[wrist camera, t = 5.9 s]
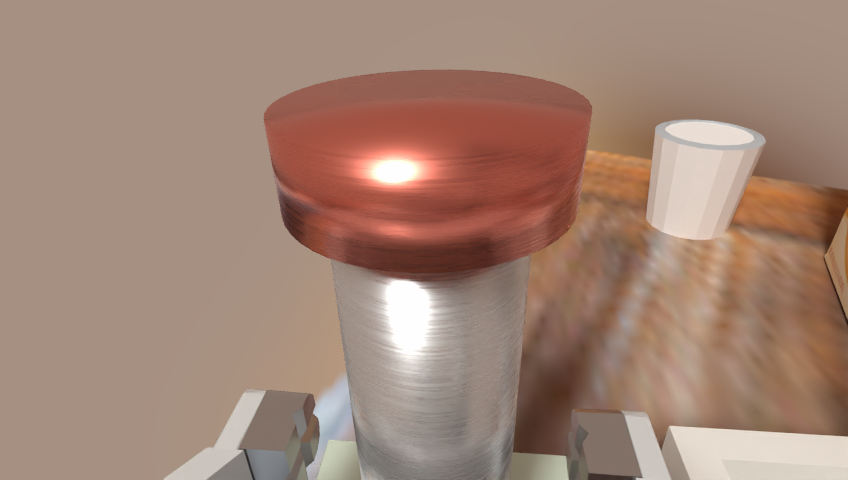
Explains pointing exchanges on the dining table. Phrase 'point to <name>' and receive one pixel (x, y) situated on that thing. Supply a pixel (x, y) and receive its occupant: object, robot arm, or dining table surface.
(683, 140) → the shot glass
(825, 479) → the tray
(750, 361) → the dining table surface
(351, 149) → the pin
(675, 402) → the dining table surface
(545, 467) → the socket block
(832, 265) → the coffeecake box
